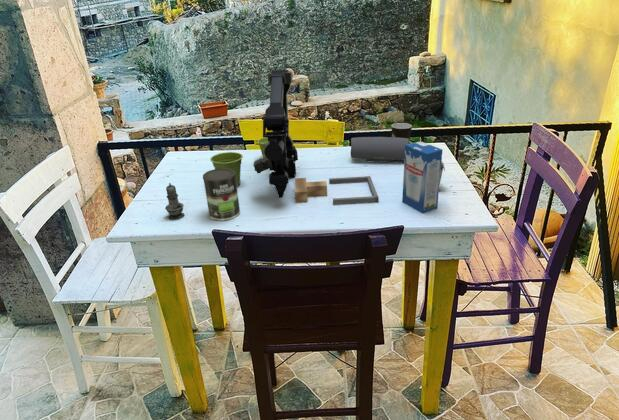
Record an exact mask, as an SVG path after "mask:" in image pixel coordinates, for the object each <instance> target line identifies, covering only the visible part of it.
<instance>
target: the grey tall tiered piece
mask: <svg viewBox="0 0 619 420" xmlns="http://www.w3.org/2000/svg"><path fill="white" fill-rule="evenodd" d="M176 189H177V187H176V186H175V185H173V184H172V183H171V182H169V183H168V185H167V186H166V187H165V190H166V194H167V195H166V199H167V202H168V204H167V205H166V206H165V208H164V209H165V210H166V212H167V214H169V215H168V217H167V218H168V219H169V220H171V221H177V220H180V219H183V218H184V217H185V213H184V212H183V211H184V207H185V205H184V203H182V202H179V199H178V197H179V194H178V193H177V190H176Z"/></svg>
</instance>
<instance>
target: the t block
mask: <svg viewBox="0 0 619 420" xmlns="http://www.w3.org/2000/svg"><path fill="white" fill-rule="evenodd" d="M327 183H328V182H327V181H326V180H321V181H319V180H318V181H307V178H306V177H296V178H295V177H294V192H295V193H294V194H295V195H294V196H295V198H294V199H295V204H301V203H308V198H317V197H328V184H327Z"/></svg>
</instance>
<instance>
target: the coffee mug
mask: <svg viewBox="0 0 619 420" xmlns="http://www.w3.org/2000/svg"><path fill="white" fill-rule="evenodd" d="M390 126H391V137H396V138H408V139H409V141H410V140H411V134H412V128H413V125H412V124H410V123H407V122H397V123H391V125H390Z"/></svg>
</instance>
